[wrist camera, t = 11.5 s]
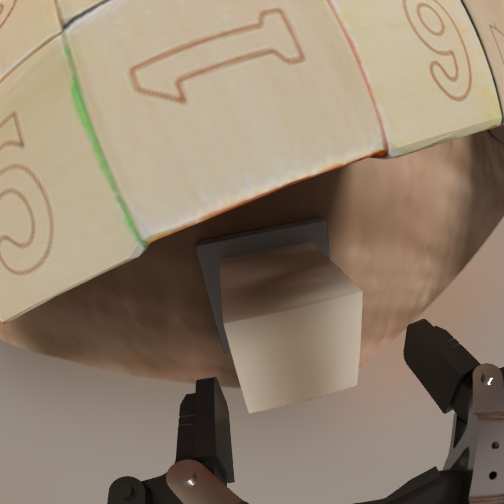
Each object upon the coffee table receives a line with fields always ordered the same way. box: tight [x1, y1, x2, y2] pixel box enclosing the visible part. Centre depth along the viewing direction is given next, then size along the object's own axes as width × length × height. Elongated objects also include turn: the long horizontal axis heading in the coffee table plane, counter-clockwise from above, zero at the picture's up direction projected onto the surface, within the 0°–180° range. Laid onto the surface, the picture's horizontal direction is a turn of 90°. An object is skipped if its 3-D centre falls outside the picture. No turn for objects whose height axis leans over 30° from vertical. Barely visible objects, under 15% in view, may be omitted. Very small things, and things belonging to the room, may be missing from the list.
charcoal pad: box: [196, 217, 330, 353], centre depth 17 cm, size 7×7×1 cm
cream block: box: [219, 242, 362, 413], centre depth 13 cm, size 5×5×6 cm
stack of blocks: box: [0, 0, 504, 324], centre depth 8 cm, size 21×6×12 cm, turn 110°
